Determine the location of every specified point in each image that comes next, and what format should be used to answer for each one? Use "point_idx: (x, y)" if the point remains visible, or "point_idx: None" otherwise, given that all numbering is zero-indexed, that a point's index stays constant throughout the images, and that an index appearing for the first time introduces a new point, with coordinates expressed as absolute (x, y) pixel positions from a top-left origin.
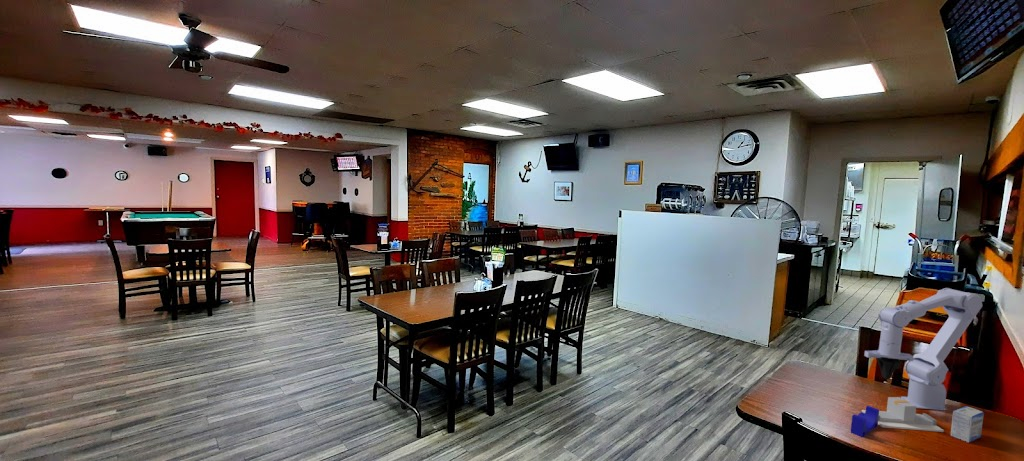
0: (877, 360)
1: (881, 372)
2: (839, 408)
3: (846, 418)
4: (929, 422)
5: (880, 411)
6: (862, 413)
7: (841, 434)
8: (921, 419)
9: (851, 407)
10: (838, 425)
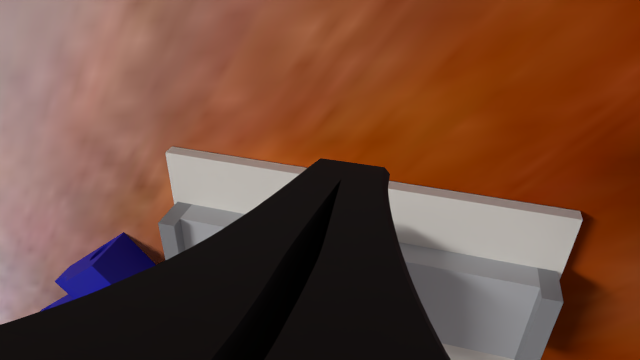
0: (8, 345)
1: (284, 191)
2: (48, 108)
3: (56, 215)
4: (485, 348)
5: (283, 175)
6: (89, 277)
7: (5, 315)
8: (452, 330)
9: (128, 93)
10: (6, 264)
